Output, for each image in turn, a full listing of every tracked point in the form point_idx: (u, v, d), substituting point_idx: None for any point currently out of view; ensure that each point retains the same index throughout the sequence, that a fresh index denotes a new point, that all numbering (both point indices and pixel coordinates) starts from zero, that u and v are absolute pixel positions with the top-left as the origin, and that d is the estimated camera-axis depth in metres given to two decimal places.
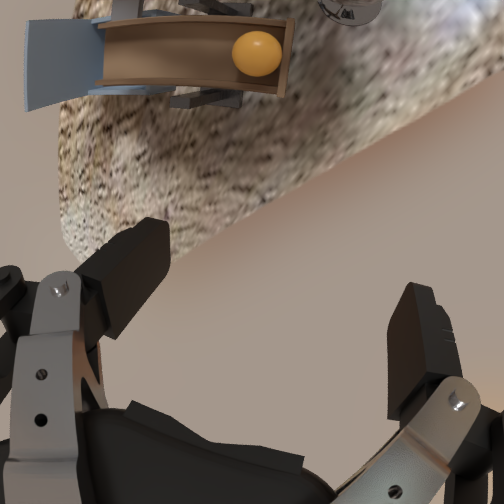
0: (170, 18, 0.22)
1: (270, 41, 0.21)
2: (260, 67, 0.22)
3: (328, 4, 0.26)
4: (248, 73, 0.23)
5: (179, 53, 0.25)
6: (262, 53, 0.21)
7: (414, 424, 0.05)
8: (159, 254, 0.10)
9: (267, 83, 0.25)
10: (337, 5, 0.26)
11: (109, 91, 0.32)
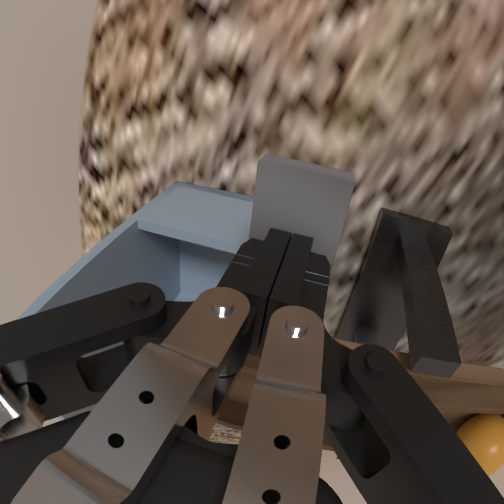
0: None
1: None
2: None
3: None
4: None
5: None
6: (491, 473, 0.10)
7: (263, 370, 0.06)
8: None
9: None
10: None
11: None
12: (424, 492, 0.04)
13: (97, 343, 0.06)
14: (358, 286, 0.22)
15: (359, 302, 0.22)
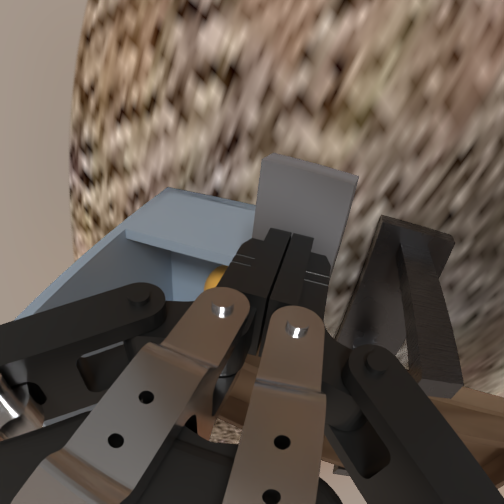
0: None
1: None
2: None
3: None
4: None
5: None
6: None
7: (263, 370, 0.06)
8: None
9: None
10: None
11: None
12: (424, 492, 0.04)
13: (97, 343, 0.06)
14: (356, 296, 0.21)
15: (357, 312, 0.22)
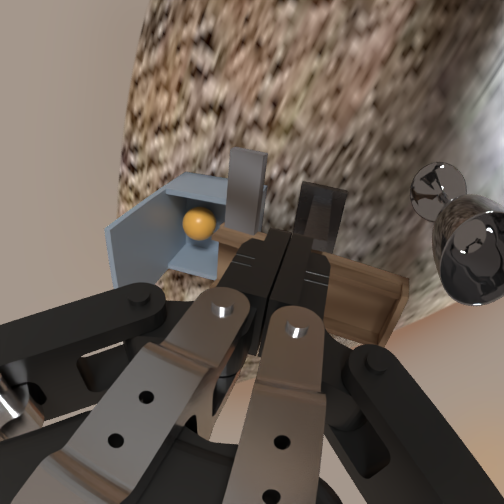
0: None
1: None
2: None
3: (419, 201, 0.32)
4: None
5: None
6: None
7: (263, 370, 0.06)
8: None
9: (370, 330, 0.29)
10: (427, 203, 0.32)
11: (195, 272, 0.38)
12: (424, 492, 0.04)
13: (97, 343, 0.06)
14: (294, 230, 0.37)
15: None
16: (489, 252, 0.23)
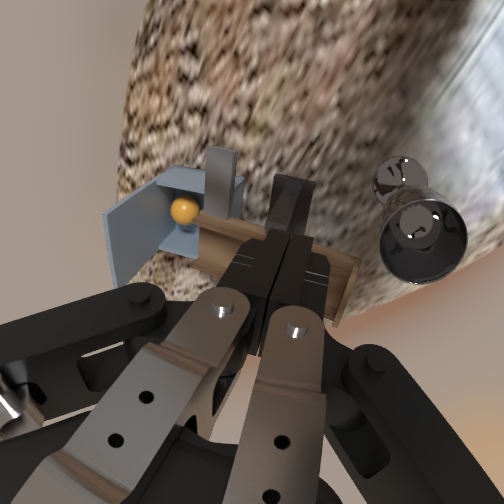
0: None
1: None
2: None
3: (382, 191, 0.37)
4: None
5: None
6: None
7: (263, 370, 0.06)
8: None
9: (329, 305, 0.34)
10: (389, 193, 0.36)
11: (182, 253, 0.43)
12: (424, 492, 0.04)
13: (97, 343, 0.06)
14: None
15: None
16: (438, 238, 0.28)
